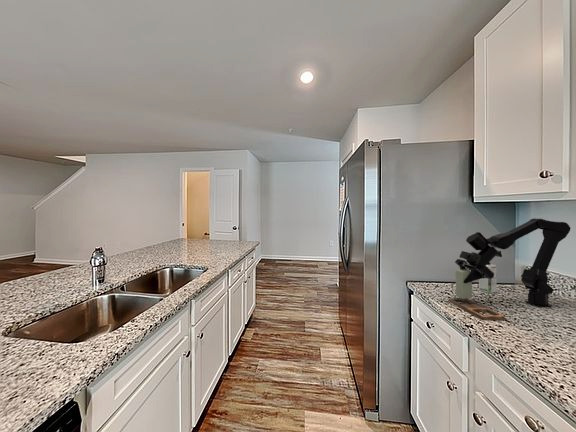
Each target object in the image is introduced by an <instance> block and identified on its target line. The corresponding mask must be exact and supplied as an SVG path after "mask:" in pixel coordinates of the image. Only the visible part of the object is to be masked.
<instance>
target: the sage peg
mask: <svg viewBox="0 0 576 432" xmlns="http://www.w3.org/2000/svg"><path fill="white" fill-rule="evenodd" d="M470 272H471V270H470V271H468V270H460V269H455V296H458V297H459V298H460V299H461V298H467V299H471V298H473V281H472V282H469V283H466V284H465V283H464V282H463V281H464V280H465V279H466V277H467V276H468V275H469V274H470Z"/></svg>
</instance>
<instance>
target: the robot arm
mask: <svg viewBox="0 0 576 432" xmlns="http://www.w3.org/2000/svg"><path fill="white" fill-rule="evenodd" d="M538 229H539V230H542V232H541V234H542V236H543V240H542V243H541V245H540V247H539V250H538V252H537V254H536V256H535V259H534V261H533V264H532V266H530V267H529V269H527V268H523V272H522V274H521V275H520V277H521V282H522V284H523V285H524V288H525V289H528V293H527V300H525V303H528V304H530V305H533V306H536V307H539V308H541V307H546V308H547V307H553V305H552V304H550V303H549V300H550V299H549V295H550V294H551V295H552V294H553V292H554V288H553V287H552V286H551V285H549V284H548V281H549V277H548V273H547V271H548V269H549V266H550V263H551V261H552V259H553V257H554V254H555V252H556V249H557V247H558V245H559V243H560V242H561V241H562V240H564V239H566V237H567V236H568V235H569V233H570V231H571V226H570V225H569V224H568V223H567V222H566V221H565V222H564V221H553V220H552V221H551V220H548V219H543V218H531V219H529V221H526V222H525V223H522V224H520V225H518V226H516V227H515V228H513V229H511V230H509V231H506V232H503V233H502V232H501V233H498V234H494V235H491V236H490V237H488V238H486V237H485V236H484V235H483V234H482V233H481V232H477V231H476V232H475V233H473V234H471V235H469V236H467V237H466V240H465V242H466V243H467V244H469V245H470V247H472V248H473V249H474V250H475V251H478V252H475V251H471V252H469V251H468V252H467V251H463V250H461V252H460V254H459V258H457V259H456V260H455V261H454V263H455V264H456V265H457V266H458V267H459V270H468V271H471V272H470V274H469V275H468V276H467V277H466V279H465V280H464V281H463V282H464V283H465V284H466V283H469V282H472V283H473V282H474V281H477V280H478V281H479V279H482V278H483V279H484V276H485V274H486V278H488V279H492V278H493V277H494V273H493V272H492V271H491V270H490V269H489V268H488V267H487V266H486V265H491V261H492V260H493V259H494V258H495V257H499V258H502V257H503V255H502V251H501V250H507V249H508V248H510V247H511V246H513V245H514V244H515V241H517V240H519V239H520V238H523V237H525V236H526V235H527V236H528V235H529V234H531V233H533V232H534V231H536V230H538ZM498 249H499V250H498Z"/></svg>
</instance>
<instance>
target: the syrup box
mask: <svg viewBox="0 0 576 432" xmlns="http://www.w3.org/2000/svg"><path fill="white" fill-rule="evenodd" d="M486 266H487V267H488V268H489V269H490V270H491V271H492V272H493V273H494V277H493V278H492V279H488V278H486V274H485V276H484V279H483V278H482V279H478V291H479V292H483V293H487V294H493V293H496V292H497V265H496V264H490V265H486Z"/></svg>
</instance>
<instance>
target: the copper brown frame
mask: <svg viewBox="0 0 576 432" xmlns="http://www.w3.org/2000/svg"><path fill="white" fill-rule="evenodd" d="M448 302H449V303H451V304H453V305H454V306H456V307H457V308H460V309H462V310H464V311H466V312H467V313H469V314H470V315H472V316H474V317H476V318H477V319H480V320H481V321H505V320H506V319H505V318H506V316H505V315H503V314H501V313H499V312H497V311H495V310H492V309H491V308H489V307H485V306H484V305H481V304H478V302H475V301H473V300H471V299H470V298H461V297H460V298H448ZM460 302H461V303H463V302H466V303H468V304H461V303H460ZM481 313H488V314H490V315H484V314H483V315H482V314H481Z"/></svg>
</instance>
